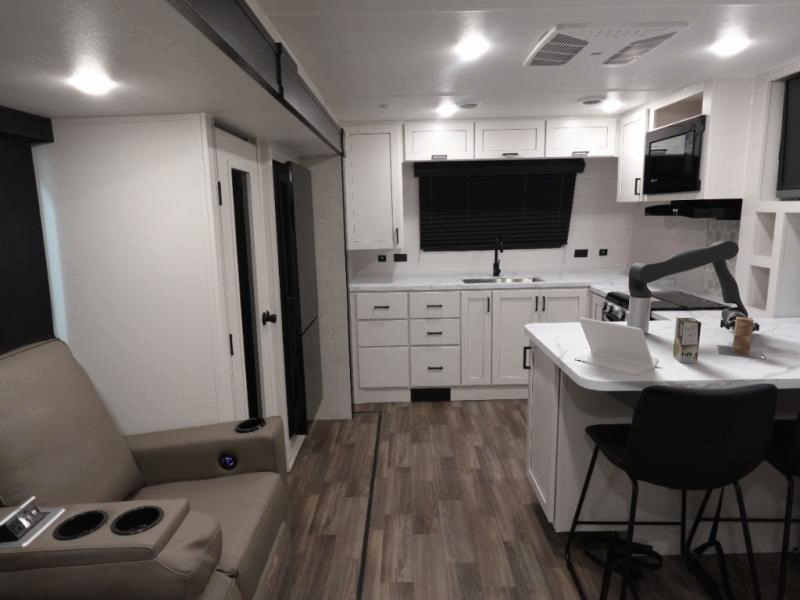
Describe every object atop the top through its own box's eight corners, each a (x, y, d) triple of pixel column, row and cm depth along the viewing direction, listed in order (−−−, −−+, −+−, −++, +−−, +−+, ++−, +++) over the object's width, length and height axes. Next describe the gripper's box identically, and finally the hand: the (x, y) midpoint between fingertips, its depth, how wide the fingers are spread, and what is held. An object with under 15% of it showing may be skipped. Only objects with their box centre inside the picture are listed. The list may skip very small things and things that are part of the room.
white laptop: (634, 376, 183) (638, 329, 180) (573, 360, 202) (575, 317, 199) (659, 366, 194) (663, 322, 191) (598, 351, 213) (601, 311, 210)
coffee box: (697, 363, 196) (702, 322, 193) (679, 362, 197) (683, 321, 194) (689, 357, 205) (693, 317, 202) (672, 356, 206) (675, 316, 203)
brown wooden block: (733, 352, 209) (737, 319, 207) (732, 349, 214) (736, 316, 211) (749, 354, 206) (753, 320, 204) (748, 351, 211) (752, 317, 209)
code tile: (718, 354, 207) (718, 354, 207) (716, 345, 221) (716, 344, 221) (766, 360, 199) (767, 359, 199) (761, 350, 213) (761, 349, 213)
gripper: (719, 311, 235) (721, 318, 221) (757, 314, 228) (761, 321, 214) (718, 327, 236) (719, 335, 222) (755, 331, 229) (759, 339, 215)
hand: (740, 328), depth 218 cm, fingers open, 8 cm apart
